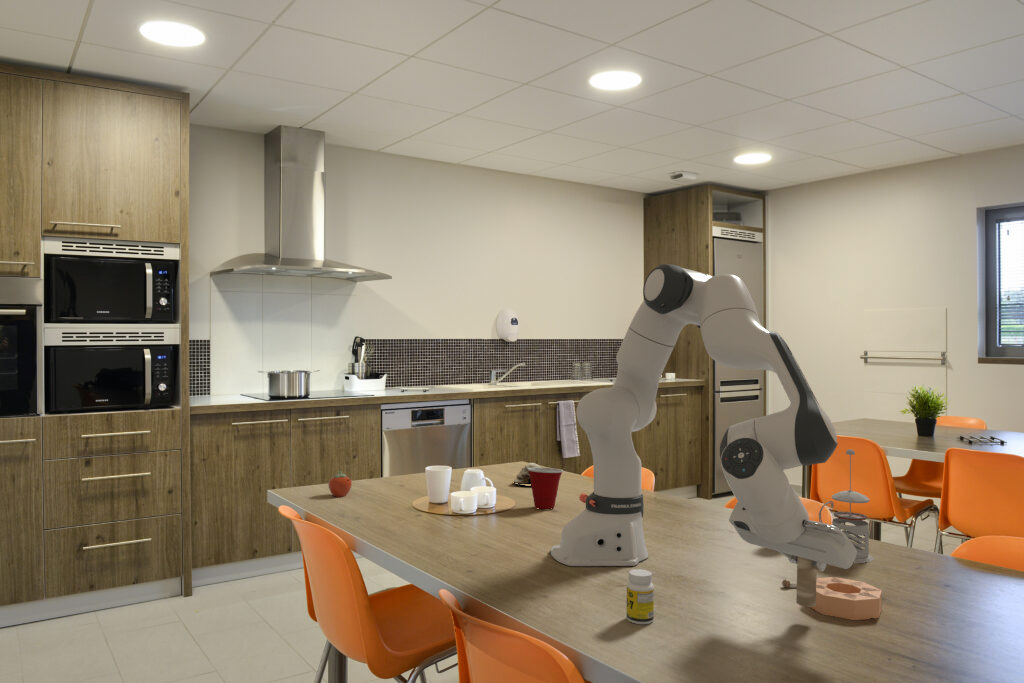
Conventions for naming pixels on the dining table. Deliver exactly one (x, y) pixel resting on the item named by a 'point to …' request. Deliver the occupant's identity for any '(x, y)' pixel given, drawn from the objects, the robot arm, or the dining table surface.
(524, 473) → the grey rounded lump
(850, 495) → the french press
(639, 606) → the supplement bottle
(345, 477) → the tomato
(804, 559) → the needle dowel
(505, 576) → the dining table surface
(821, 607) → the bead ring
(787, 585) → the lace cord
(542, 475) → the plastic cup
